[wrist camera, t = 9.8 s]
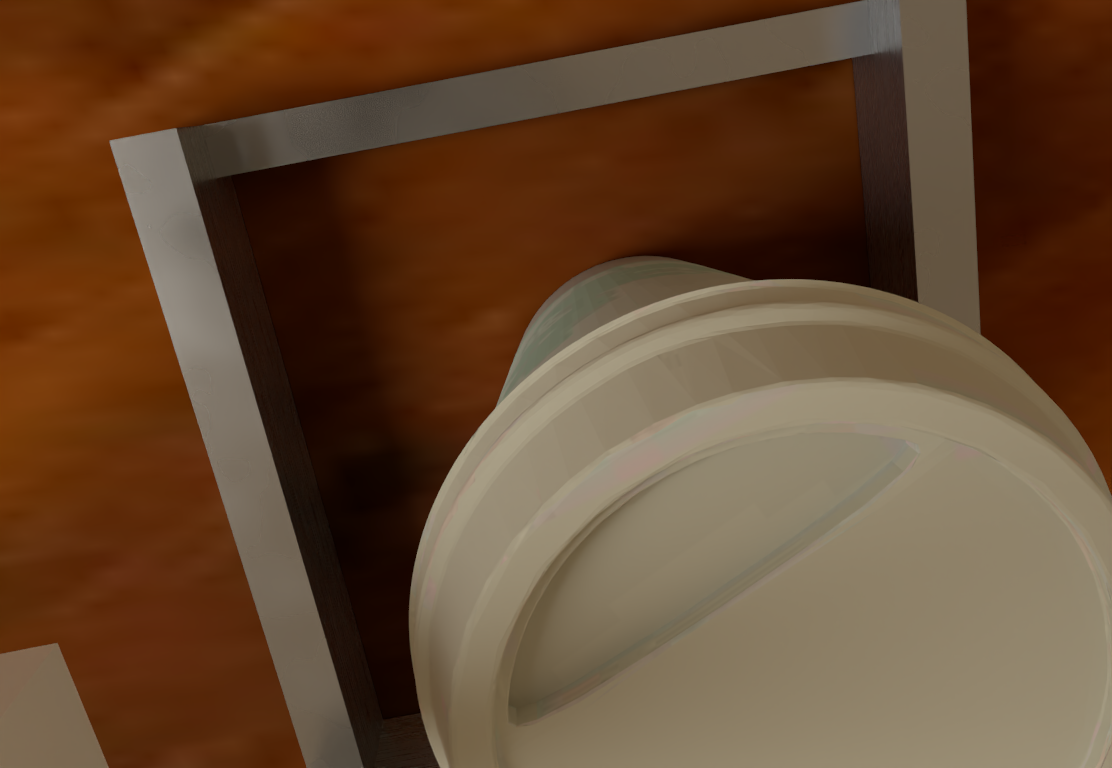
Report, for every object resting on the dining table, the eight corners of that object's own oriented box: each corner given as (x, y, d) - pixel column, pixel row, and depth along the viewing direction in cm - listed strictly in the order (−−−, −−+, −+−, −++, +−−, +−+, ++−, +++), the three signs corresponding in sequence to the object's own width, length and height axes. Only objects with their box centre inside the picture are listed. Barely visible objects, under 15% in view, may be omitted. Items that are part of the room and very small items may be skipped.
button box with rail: (143, 137, 19) (-96, 166, 11) (921, -10, 19) (1205, -79, 11) (414, 1025, 26) (379, 1407, 19) (973, 918, 26) (1167, 1254, 19)
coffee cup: (829, 173, 20) (1273, 278, 9) (826, 535, 23) (1164, 991, 11) (428, 207, 20) (332, 364, 8) (471, 571, 22) (442, 1076, 11)
